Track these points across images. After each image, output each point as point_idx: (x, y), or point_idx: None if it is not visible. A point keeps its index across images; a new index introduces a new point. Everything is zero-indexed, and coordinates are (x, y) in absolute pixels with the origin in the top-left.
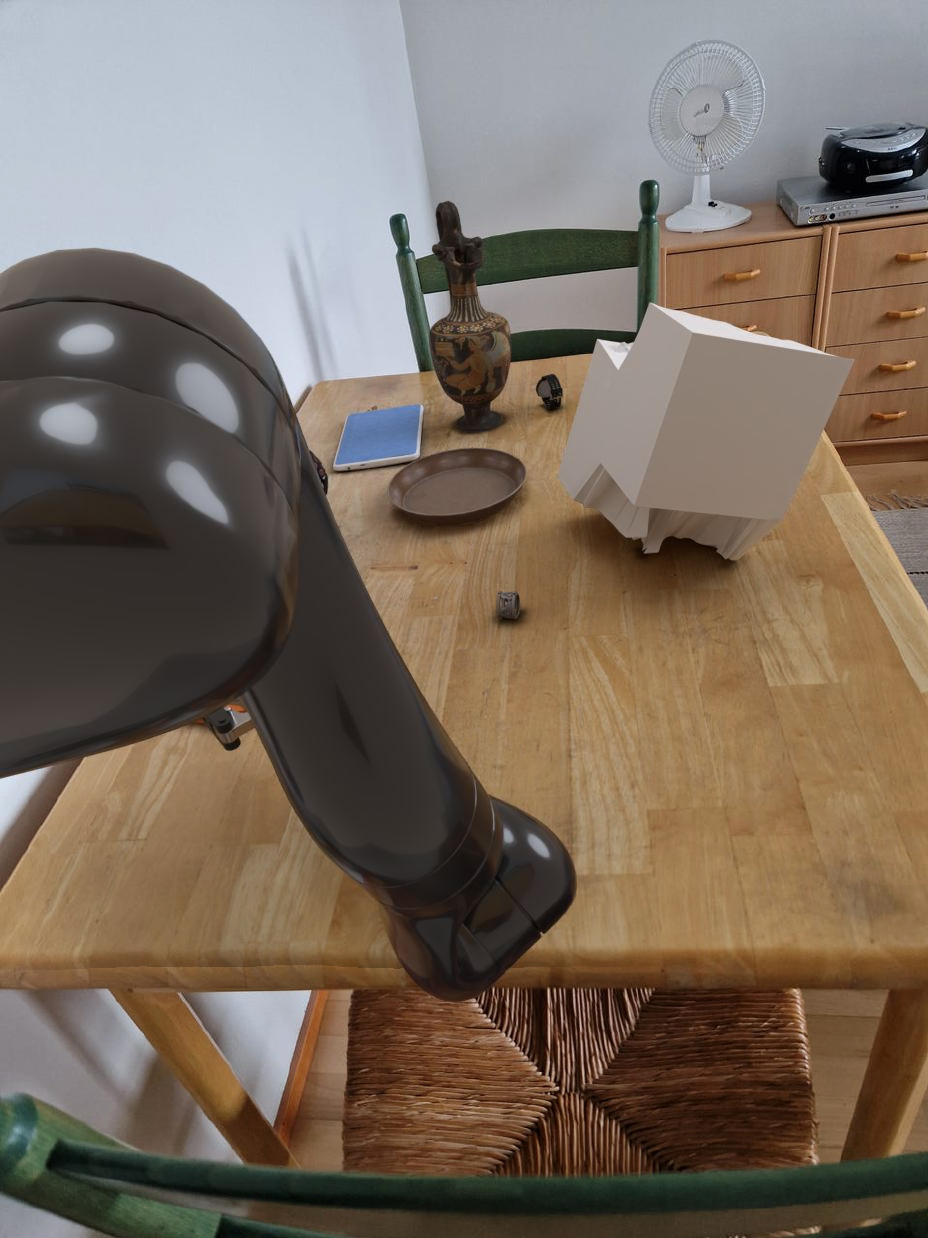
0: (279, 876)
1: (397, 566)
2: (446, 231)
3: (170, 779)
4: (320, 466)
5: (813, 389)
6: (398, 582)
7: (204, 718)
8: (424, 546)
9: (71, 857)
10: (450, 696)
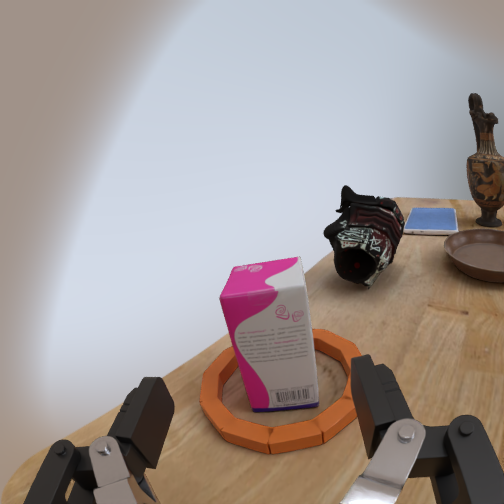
0: None
1: (450, 308)
2: (475, 106)
3: None
4: (400, 213)
5: None
6: (452, 324)
7: (72, 493)
8: (471, 294)
9: None
10: None
